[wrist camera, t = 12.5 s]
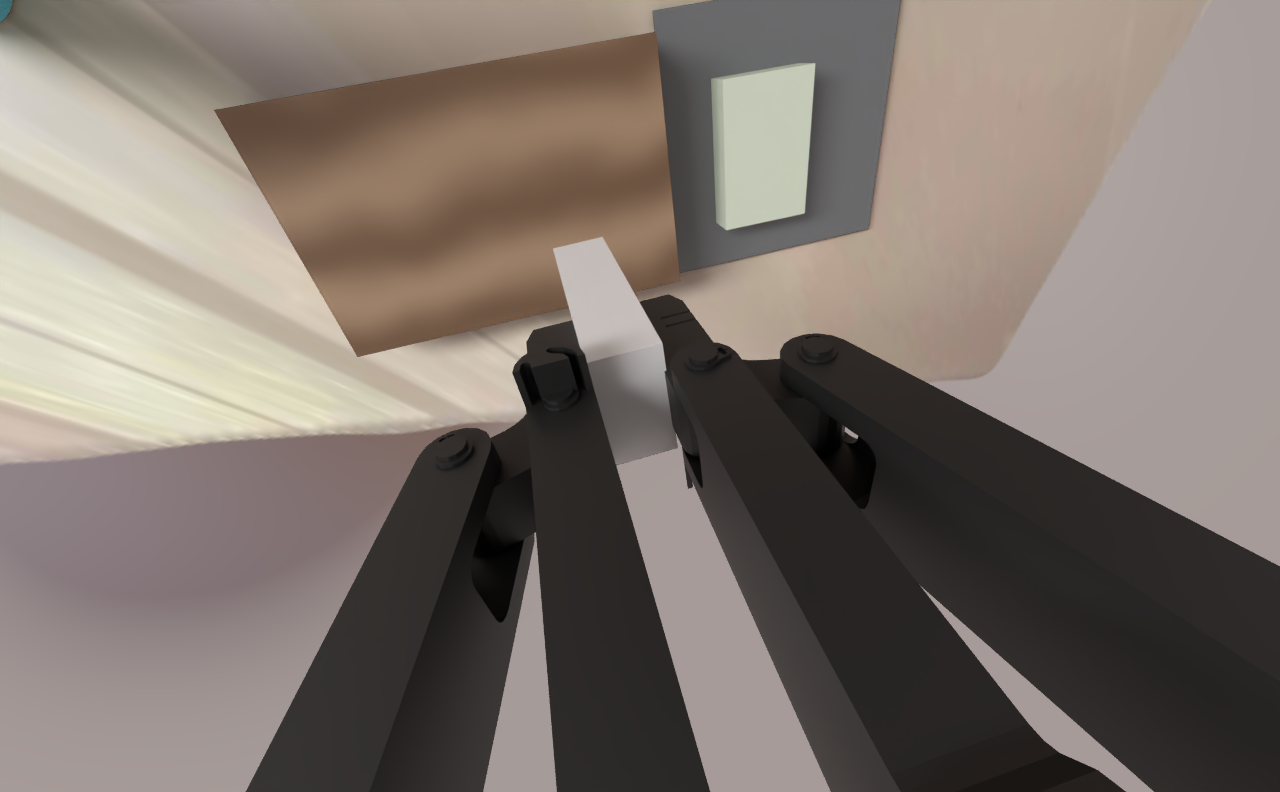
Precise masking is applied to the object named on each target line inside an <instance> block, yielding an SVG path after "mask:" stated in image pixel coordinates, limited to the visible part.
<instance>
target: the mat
mask: <svg viewBox="0 0 1280 792" xmlns="http://www.w3.org/2000/svg"><path fill="white" fill-rule="evenodd" d="M899 7H900V0H713V1H707V2H701V3H695V4H689V5H684V6H678V7H672V8H666V9H660V10H654V11H653V20H654V30H655V32H656V35H657V45H658V55H659V66H660V76H661V86H662V97H663V107H664V117H665V128H666V138H667V148H668V159H669V169H670V179H671V190H672V200H673V210H674V220H675V231H676V241H677V251H678V262H679V272H680V273H682V272H686V271H690V270H695V269H699V268H703V267H707V266H712V265H716V264H720V263H724V262H729V261H733V260H737V259H741V258H746V257H750V256H754V255H759V254H763V253H767V252H771V251H776V250H780V249H784V248H788V247H793V246H797V245H801V244H805V243H810V242H814V241H818V240H822V239H827V238H831V237H835V236H840V235H844V234H848V233H852V232H857V231H861V230H865V229H868V226H869V219H870V212H871V205H872V198H873V191H874V184H875V177H876V170H877V163H878V156H879V149H880V142H881V134H882V127H883V120H884V113H885V106H886V99H887V92H888V85H889V78H890V71H891V64H892V57H893V50H894V43H895V35H896V28H897V21H898V14H899ZM797 63H815V77H814V91H813V105H812V119H811V133H810V147H809V161H808V175H807V189H806V203H805V213H804V214H800V215H795V216H791V217H786V218H781V219H777V220H772V221H767V222H763V223H758V224H753V225H749V226H744V227H739V228H735V229H730V230H725V229H724V228H723V227H721V226H720V225H719V224H717V223H716V203H715V175H714V147H713V119H712V91H711V79H712V78H718V77H723V76H729V75H735V74H740V73H746V72H752V71H757V70H763V69H769V68H774V67H780V66H786V65H791V64H797Z"/></svg>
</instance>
